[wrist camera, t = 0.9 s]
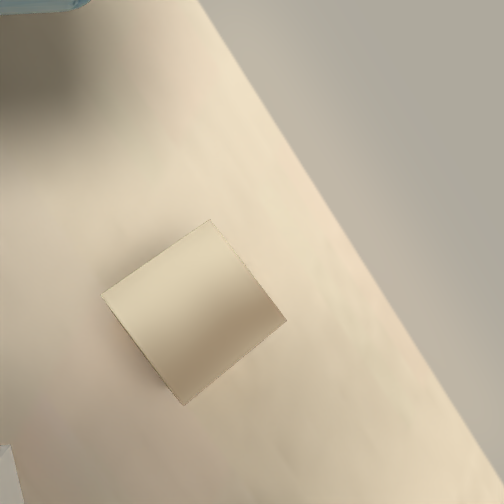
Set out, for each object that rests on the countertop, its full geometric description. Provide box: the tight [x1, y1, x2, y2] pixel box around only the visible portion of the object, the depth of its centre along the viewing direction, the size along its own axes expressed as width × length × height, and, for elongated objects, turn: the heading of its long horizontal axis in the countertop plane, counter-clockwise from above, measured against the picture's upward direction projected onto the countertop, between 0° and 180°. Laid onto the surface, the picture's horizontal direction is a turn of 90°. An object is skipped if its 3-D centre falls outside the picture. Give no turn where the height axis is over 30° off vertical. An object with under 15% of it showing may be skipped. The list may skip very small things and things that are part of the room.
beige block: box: [101, 219, 287, 406], centre depth 23 cm, size 5×5×10 cm
